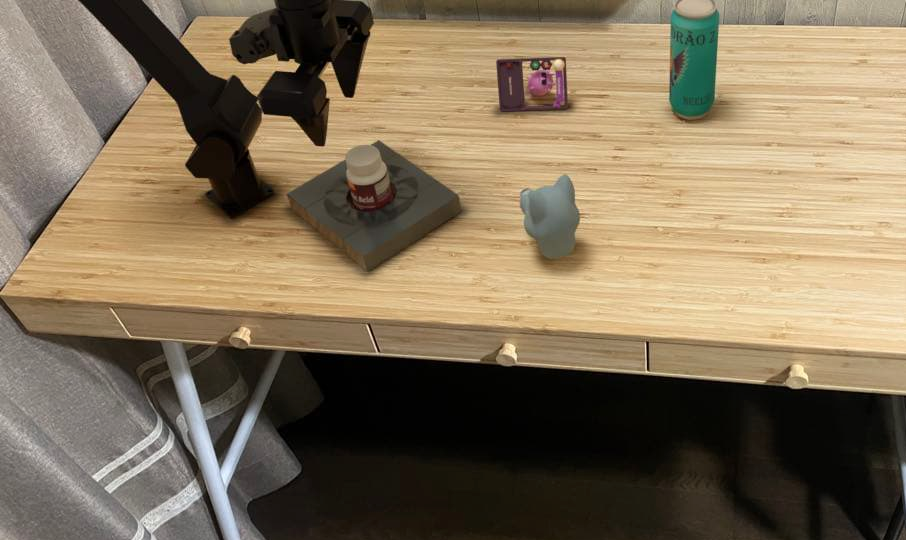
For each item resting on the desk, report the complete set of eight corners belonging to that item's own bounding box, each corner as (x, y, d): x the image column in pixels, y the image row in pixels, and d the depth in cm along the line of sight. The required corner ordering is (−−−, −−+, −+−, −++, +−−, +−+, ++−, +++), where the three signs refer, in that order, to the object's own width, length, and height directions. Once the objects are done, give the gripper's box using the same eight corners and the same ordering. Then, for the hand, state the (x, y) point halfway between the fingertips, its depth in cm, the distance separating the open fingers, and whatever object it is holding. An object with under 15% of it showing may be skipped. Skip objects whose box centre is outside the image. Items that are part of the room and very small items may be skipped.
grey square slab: (461, 211, 121) (458, 195, 119) (367, 272, 115) (363, 256, 113) (382, 155, 129) (378, 139, 127) (291, 209, 123) (285, 193, 122)
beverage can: (662, 102, 132) (663, -2, 121) (702, 92, 133) (707, -13, 122) (679, 127, 128) (682, 22, 117) (721, 116, 129) (728, 10, 118)
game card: (495, 61, 130) (565, 58, 129) (499, 52, 134) (567, 49, 133) (499, 112, 133) (567, 110, 132) (503, 101, 137) (569, 99, 136)
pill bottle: (348, 216, 122) (333, 161, 115) (372, 193, 124) (358, 138, 118) (380, 228, 120) (366, 172, 114) (403, 204, 122) (390, 148, 116)
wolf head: (549, 214, 119) (542, 145, 112) (592, 254, 114) (588, 186, 106) (505, 236, 117) (495, 168, 110) (546, 278, 112) (539, 210, 104)
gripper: (266, -53, 111) (301, 69, 123) (190, 40, 99) (236, 165, 111) (361, -48, 109) (387, 75, 120) (294, 48, 97) (330, 175, 108)
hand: (335, 120), depth 115 cm, fingers open, 9 cm apart
